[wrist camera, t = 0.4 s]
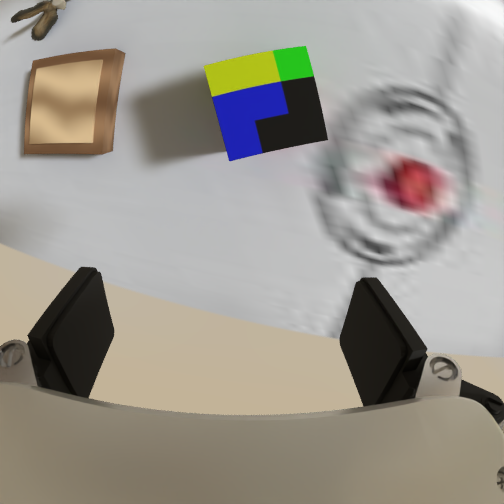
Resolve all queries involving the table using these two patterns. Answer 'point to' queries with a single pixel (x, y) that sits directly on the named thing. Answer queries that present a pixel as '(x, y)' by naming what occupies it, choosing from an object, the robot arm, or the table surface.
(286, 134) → the puzzle toy
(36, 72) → the walnut tray
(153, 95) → the table surface
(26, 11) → the eagle figurine
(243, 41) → the table surface
